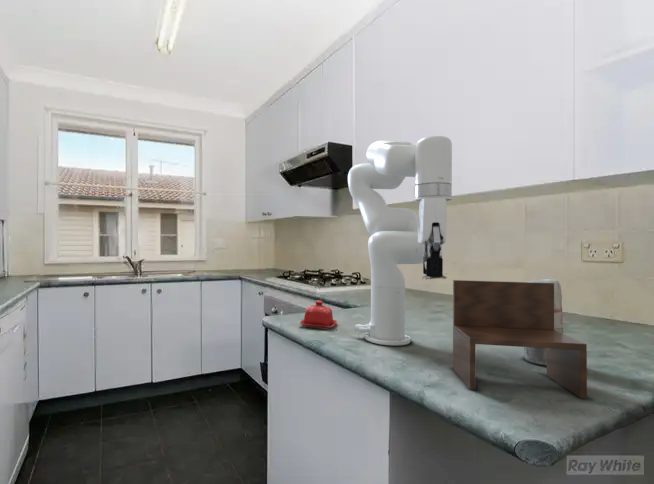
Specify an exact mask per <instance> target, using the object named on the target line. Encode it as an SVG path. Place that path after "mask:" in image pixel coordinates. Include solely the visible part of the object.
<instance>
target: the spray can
mask: <svg viewBox="0 0 654 484" xmlns="http://www.w3.org/2000/svg"><path fill="white" fill-rule="evenodd" d="M527 282H539V283H554V330H555V331H557V332H559V333H562V334H564V325H563V324H564V320H563V304H562V303H563V302H562V301H563V295H562V287H561V283H560V281H559V280H557V279H554V278H553V279H552V278H544V279H539V280H538V279H537V280H530V281H529V280H528V281H527ZM523 352H524V353H523V354H524V360H526V361H527V362H529V363H532V364H535V365H541V366H547V348H534V347H523Z"/></svg>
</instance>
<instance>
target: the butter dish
mask: <svg viewBox="0 0 654 484" xmlns="http://www.w3.org/2000/svg"><path fill="white" fill-rule="evenodd" d="M323 303H324V301H323V300H320V299H317V300H315V304H313V305H309V306H308V307H306V309H305V311H304V317H303V319H302V320H301V321H299V325H301V326H305V327H306V328H315V329H325V330H327V329H329V328H333V327H334V326H335V325H336V324H337V323H338V320H337V319H334V317H333V310H332V308H331V307H329V306H326V305H323Z"/></svg>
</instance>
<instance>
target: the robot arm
mask: <svg viewBox="0 0 654 484" xmlns="http://www.w3.org/2000/svg"><path fill="white" fill-rule="evenodd" d="M365 156H366V160H367V162H368V163H367V162H366V163H359V164H355V165H354V166H352V167H351V168H350V169H349V171H348V174H347V186H348V191H349V194H350V196H351V198H352V199H353V201H354V203H355V204H356V206H357V207H358V209H359V211H360V216H361V218H362V221H363V223H364V226H365V228H366V231H367V233H368V234H369V235H370V236H369V238H368V241H367V251H368V257H369V262H370V263H369V264H370V265H369V266H370V321H369V322H368V323H365V324H359V323H358V324H356V323H355V324H354V331H355V332H359V333H365V334H364V338H365V340H366V341H367V342H369V343H373V344H376V345H381V346H382V345H383V346H393V347H395V346H396V347H397V346H406V345H409V344H410V343H411V341H412V340H411V337H410V336H409V335H407V334H406V278H405V276H404V274H403V273H402V271H401V270H400V268H399V266H398V265H419V264H422V267H423V268H422V273H423V275H425V276H427V277H442V276H444V275H443V274H444V271H443V270H444V260H443V245H444V244H445V243H446V240H447V202H449V201H452V200H453V198H452V197H453V196H452V195H453V193H452V192H453V186H452V185H453V183H452V181H453V180H452V179H453V143H452V140H451V139H450V138H449V137H447V136H443V135H432V136H426V137H423V138H420V139H419V140H418V141H417V142H416V144H412V142H410V141H406V140H386V139H381V140H377V141H374V142H373V143H371V144H370V145H369V146H368V147H367V149H366V155H365ZM407 177H408V178H414V181H415V182H414V202H418V203H419V207H418V214H417V213H416V212H415V210H412V209H411V208H408V207H390V206H388V204H387V202H386V200H385V198H384V197H383V196H382V195H381V194H380V193H379V192H377V191H376V190H395V189H397V188H399V187H400V186H401V185H402V183H403V182H404V180H405V179H406V178H407ZM425 252H428V258H426V268H425V264H424V261H423V258H424V257H425V256H424V253H425Z"/></svg>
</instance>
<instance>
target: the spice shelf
mask: <svg viewBox="0 0 654 484" xmlns="http://www.w3.org/2000/svg"><path fill="white" fill-rule="evenodd" d="M452 294H453V295H452V370H454V372H455V373H456V375H457V376H458V377H459V378H460V379H461V381H463V383H464V384H465V385H466V387H468V389H469V390H475V391H476V345H485V346H500V347H501V346H503V347H518V348H519V347H520V348H524V347H534V348H547V365H546V376H547V377H548V378H550V379H551V380H553V381H554V382H556V383H557V384H559V385H560V386H562V387H564V388H565V389H566V390H568V391H570V393H572V394H574V395H575V396H577V397H578V398H581V399H588V355H587V354H588V351H587V349H588V346H587V343H585V342H582V341H581V340H578V339H576V338H574V337H571V336H568V335H566V334H564V333H563V334H562V333H559V332H557V331H555V330H554V283H539V282H528V281H502V280H501V281H499V280H498V281H497V280H471V279H470V280H468V279H467V280H466V279H465V280H464V279H453V280H452Z"/></svg>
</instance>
